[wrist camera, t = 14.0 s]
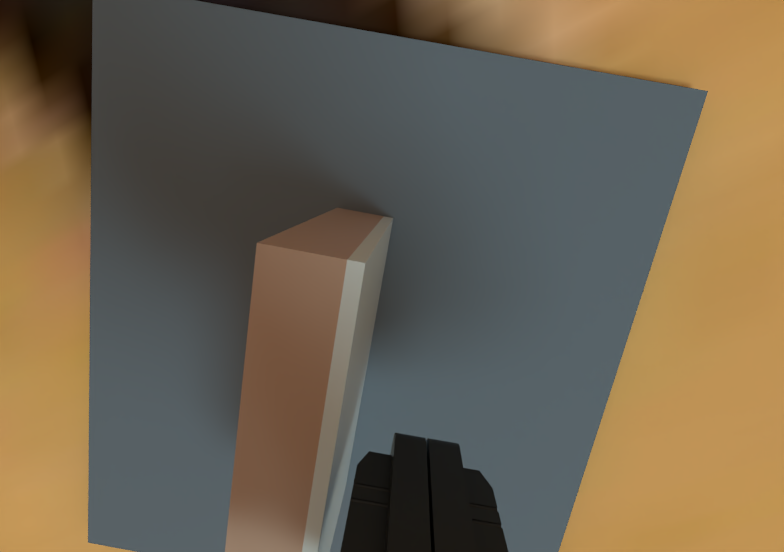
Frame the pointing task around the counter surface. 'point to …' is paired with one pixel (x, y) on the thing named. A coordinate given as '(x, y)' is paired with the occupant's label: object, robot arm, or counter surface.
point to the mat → (404, 256)
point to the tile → (304, 379)
